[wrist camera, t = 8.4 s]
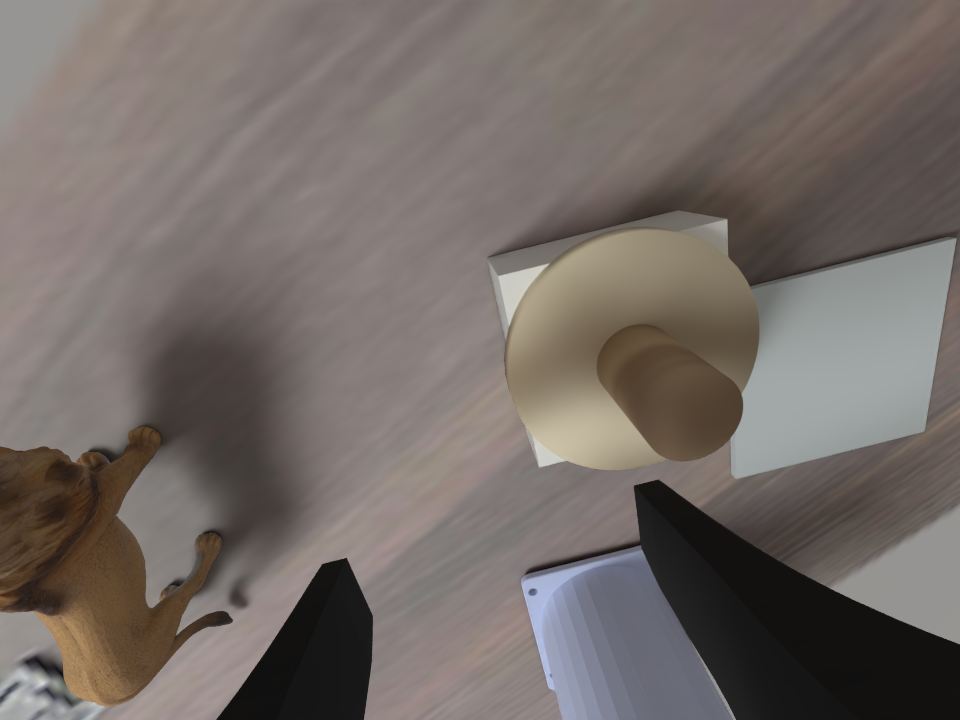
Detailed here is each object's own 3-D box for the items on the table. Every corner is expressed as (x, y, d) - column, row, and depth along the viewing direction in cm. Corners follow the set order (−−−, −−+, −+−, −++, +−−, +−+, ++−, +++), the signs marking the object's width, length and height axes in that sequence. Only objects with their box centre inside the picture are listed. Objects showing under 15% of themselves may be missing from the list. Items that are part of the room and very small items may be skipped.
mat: (917, 427, 25) (924, 431, 24) (731, 474, 25) (735, 478, 24) (947, 236, 21) (956, 238, 21) (727, 291, 21) (732, 293, 21)
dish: (688, 382, 22) (731, 418, 19) (523, 423, 22) (539, 467, 19) (677, 210, 19) (727, 218, 16) (486, 257, 19) (498, 276, 16)
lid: (749, 417, 19) (850, 496, 15) (536, 482, 19) (570, 580, 15) (732, 191, 16) (857, 202, 11) (474, 273, 16) (492, 316, 11)
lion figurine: (-12, 396, 20) (-338, 566, 11) (106, 351, 19) (-138, 491, 11) (192, 627, 25) (75, 853, 17) (284, 594, 25) (212, 807, 17)
